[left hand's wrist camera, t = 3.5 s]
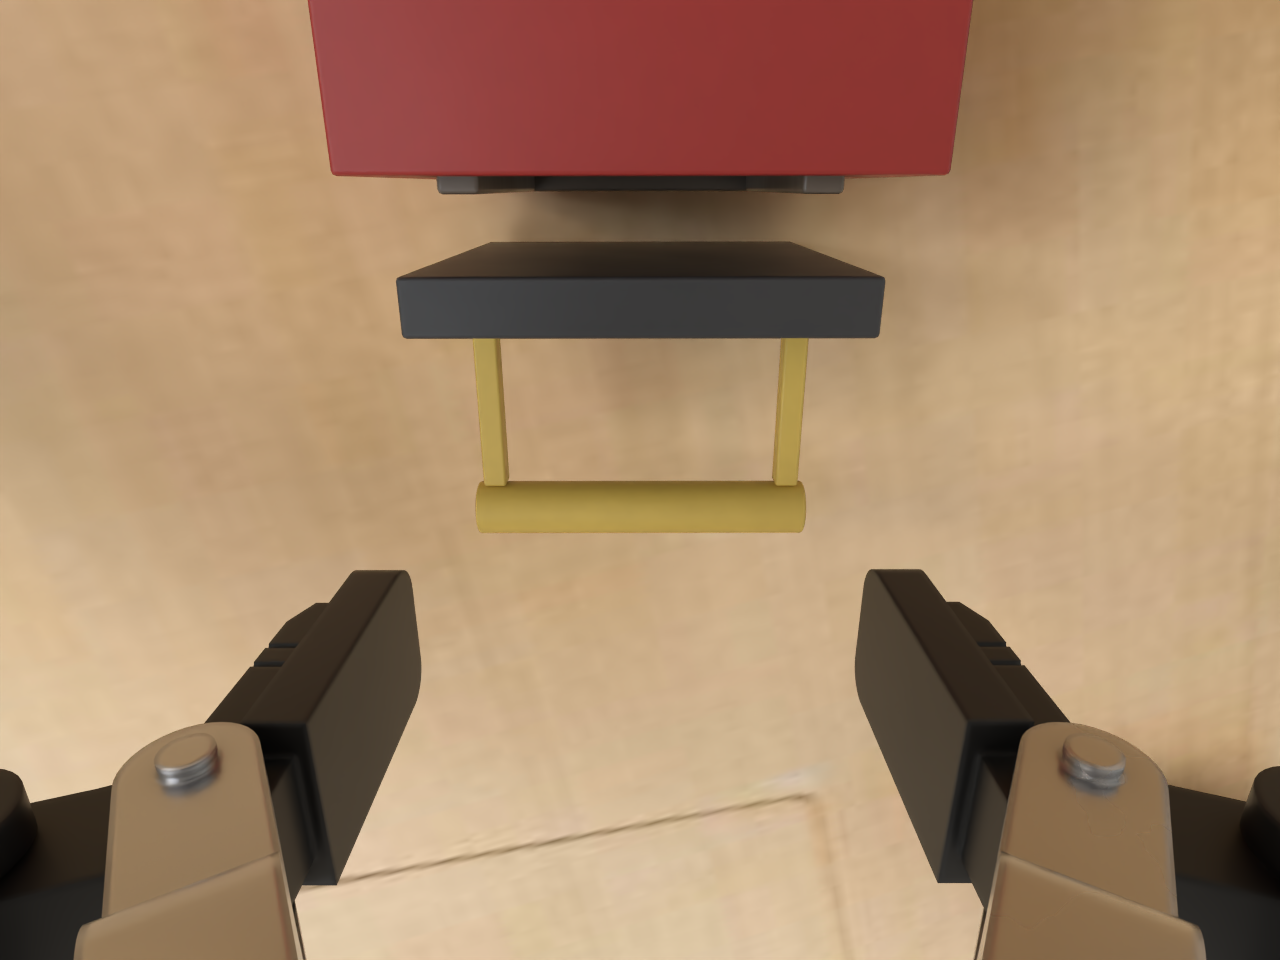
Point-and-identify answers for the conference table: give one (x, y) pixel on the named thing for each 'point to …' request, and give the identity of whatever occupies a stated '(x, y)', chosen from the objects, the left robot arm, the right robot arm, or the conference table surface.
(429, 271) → the drawer
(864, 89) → the cabinet
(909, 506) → the conference table surface
